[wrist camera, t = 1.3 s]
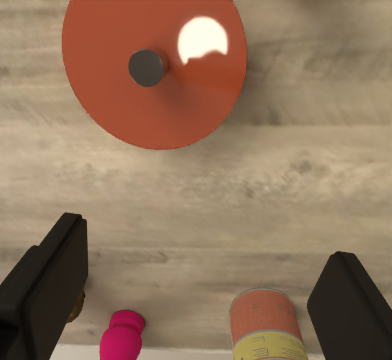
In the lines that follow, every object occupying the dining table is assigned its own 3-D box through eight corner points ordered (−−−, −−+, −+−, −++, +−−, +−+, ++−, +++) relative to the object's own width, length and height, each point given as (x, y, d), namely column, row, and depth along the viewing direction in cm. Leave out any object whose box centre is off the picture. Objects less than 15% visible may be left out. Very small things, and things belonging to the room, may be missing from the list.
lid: (243, -64, 23) (250, -86, 19) (247, 139, 31) (253, 157, 27) (40, -35, 25) (4, -48, 21) (94, 152, 33) (76, 170, 29)
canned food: (218, 301, 51) (219, 372, 40) (277, 279, 48) (296, 351, 37) (246, 336, 55) (254, 410, 44) (303, 319, 52) (326, 393, 41)
